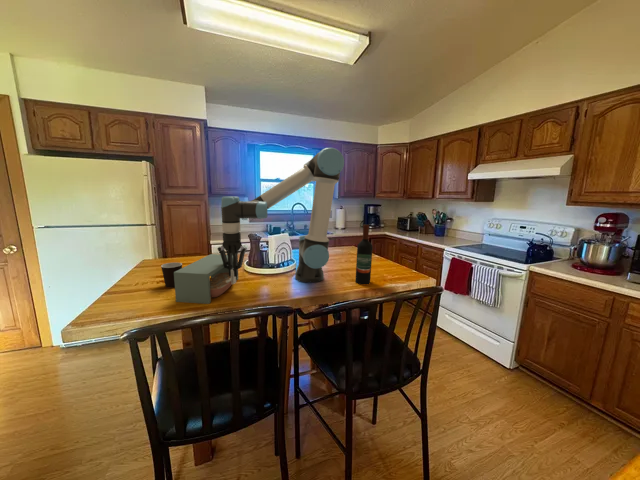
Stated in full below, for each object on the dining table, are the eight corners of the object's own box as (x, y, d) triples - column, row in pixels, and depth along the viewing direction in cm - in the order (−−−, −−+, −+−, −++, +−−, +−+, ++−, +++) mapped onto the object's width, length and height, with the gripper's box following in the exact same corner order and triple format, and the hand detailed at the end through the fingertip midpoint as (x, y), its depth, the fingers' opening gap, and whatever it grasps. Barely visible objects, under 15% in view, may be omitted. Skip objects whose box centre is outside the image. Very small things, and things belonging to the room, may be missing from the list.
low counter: (238, 278, 139) (237, 255, 137) (209, 303, 109) (207, 274, 107) (212, 277, 140) (211, 253, 138) (175, 301, 110) (173, 272, 108)
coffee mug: (174, 289, 123) (173, 268, 121) (158, 287, 124) (156, 266, 123) (191, 281, 134) (190, 261, 132) (176, 279, 136) (174, 260, 134)
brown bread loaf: (218, 281, 135) (218, 272, 134) (238, 282, 135) (238, 272, 134) (199, 300, 112) (198, 289, 111) (223, 301, 112) (222, 289, 111)
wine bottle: (371, 281, 141) (375, 224, 136) (368, 285, 135) (371, 226, 129) (357, 279, 144) (361, 223, 139) (353, 283, 138) (356, 224, 132)
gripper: (248, 231, 122) (250, 281, 126) (221, 230, 123) (223, 279, 127) (242, 233, 114) (244, 286, 119) (213, 232, 116) (216, 285, 120)
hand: (233, 283), depth 123 cm, fingers closed
